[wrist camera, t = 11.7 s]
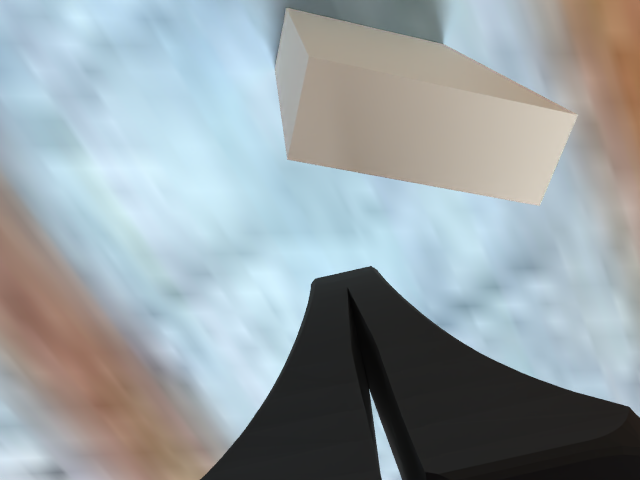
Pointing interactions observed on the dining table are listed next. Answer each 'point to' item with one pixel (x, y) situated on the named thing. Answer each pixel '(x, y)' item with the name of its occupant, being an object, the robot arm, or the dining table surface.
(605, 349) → the dining table surface
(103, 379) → the dining table surface
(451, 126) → the domino
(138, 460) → the dining table surface
